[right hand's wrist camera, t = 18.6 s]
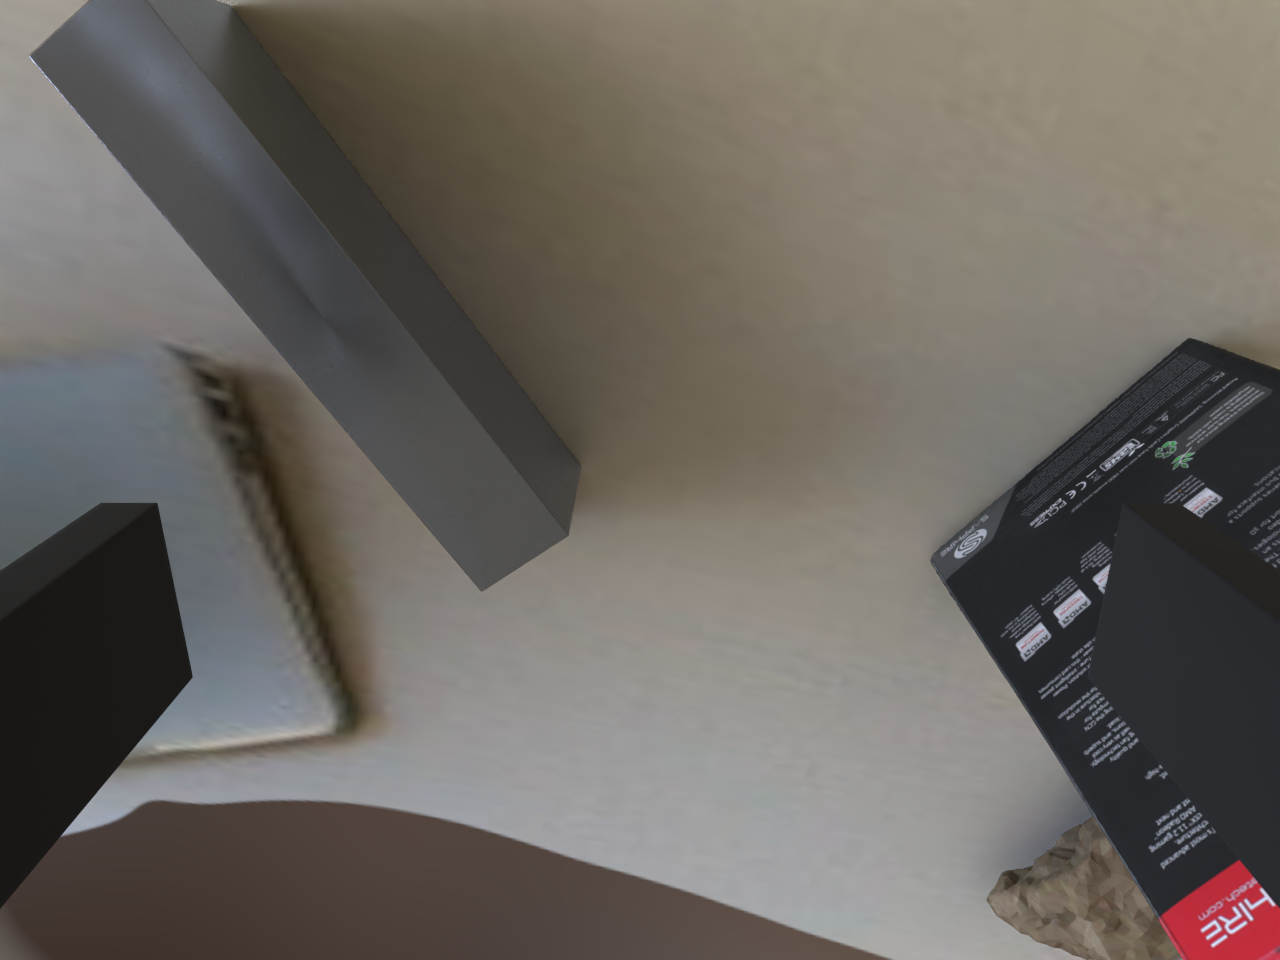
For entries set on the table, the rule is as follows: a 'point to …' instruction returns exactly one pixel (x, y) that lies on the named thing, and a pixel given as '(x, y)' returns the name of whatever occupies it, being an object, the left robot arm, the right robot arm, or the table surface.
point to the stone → (1082, 902)
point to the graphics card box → (1071, 604)
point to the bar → (319, 269)
